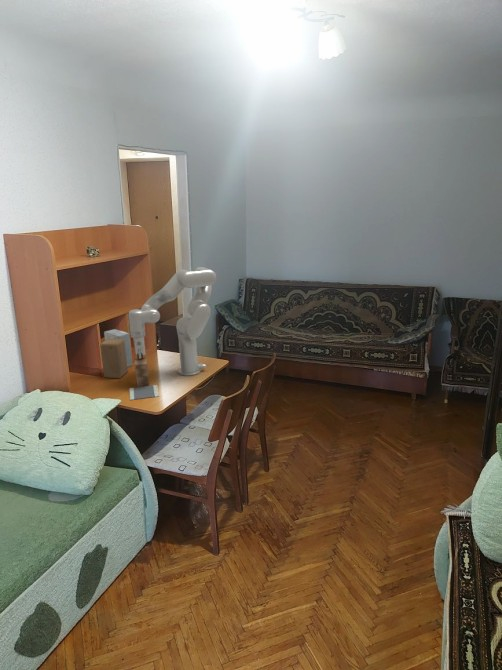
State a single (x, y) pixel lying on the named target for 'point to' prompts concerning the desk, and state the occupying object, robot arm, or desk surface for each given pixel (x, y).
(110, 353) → the wooden block
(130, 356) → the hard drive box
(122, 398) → the desk surface
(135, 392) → the mat
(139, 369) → the walnut block
